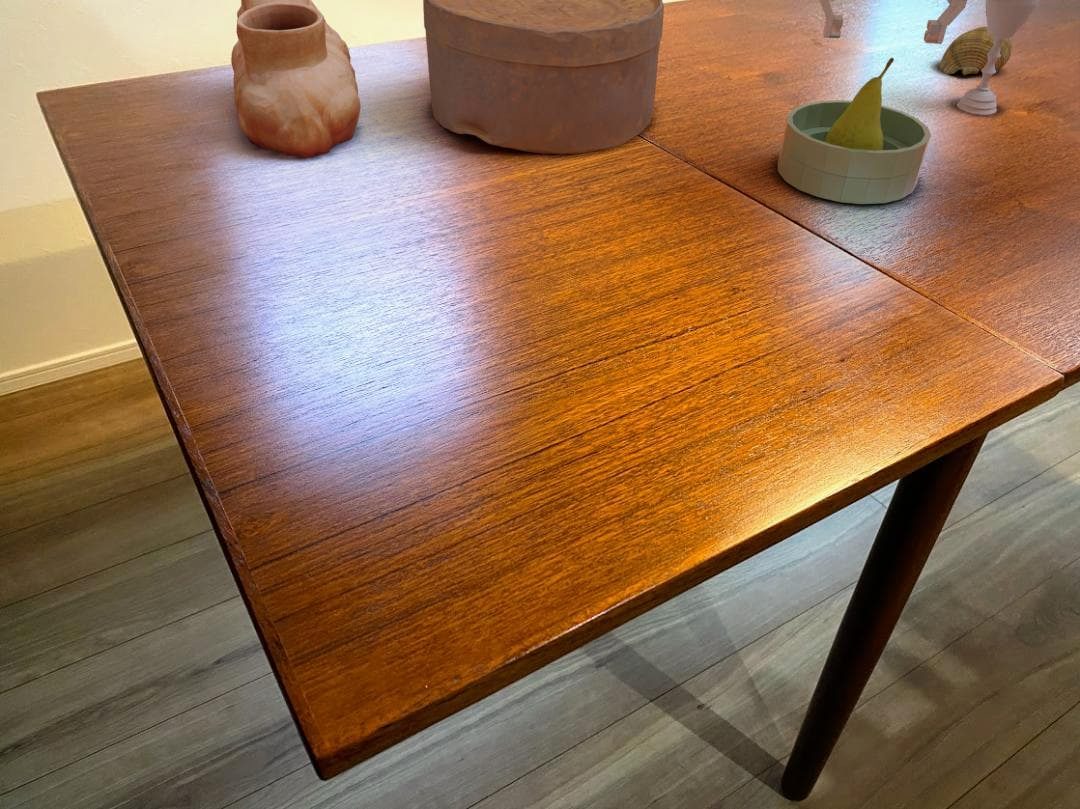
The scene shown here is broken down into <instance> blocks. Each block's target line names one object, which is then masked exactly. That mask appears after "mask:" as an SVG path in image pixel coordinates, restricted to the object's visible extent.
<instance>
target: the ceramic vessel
mask: <svg viewBox="0 0 1080 809" xmlns="http://www.w3.org/2000/svg"><path fill="white" fill-rule="evenodd" d="M236 17H237V20H236V36H237V42H236V43H235V44H234V45H233V48H232V51H231V56H230V57H231V58H230V63H231V67H232V70H233V91H234V96H233V97H234V98H233V99H234V103H235V106H236V109H237V112H238V120H237V121H238V125H239V127H240V129H241V130H242V132H243V134H244V135H245V137H246V138H247V139H248V141H249V142H250V143H251V145H253V146H254V147H257V148H261V149H263V150H267V151H272V152H278V153H281V154H285V155H288V156H290V157H296V158H314V157H318V156H322V155H323V156H324V155H326V154H329V153H330V152H331V150H332V149H333V148H335V147H336V146H337V145H340V144H343V143H346V142H349V141H351V140H352V139H353V137H354V134H355V131H356V127H357V125H358V122H359V118H360V114H361V101H360V96H359V88H358V82H357V80H356V70H355V68H354V66H353V65H352V62H351V60H352V59H351V54H350V48H349V47H348V45H347V42H346V41H345V40H344V39H342V37H341V36H340V34H339V33H338V32H337V31H336V30H335V29H333V28H332V26H330V25H329V24H328V23H327V21H326V19H325V16H324V15H323V14H322V12H321V11H320V10H319V9H318V7H317V6H316V5H315V3H314V2H313V1H312V0H240V7H239V8H238V10H237V12H236Z"/></svg>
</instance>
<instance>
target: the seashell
mask: <svg viewBox="0 0 1080 809" xmlns="http://www.w3.org/2000/svg"><path fill="white" fill-rule="evenodd" d="M993 45H994V37H992V36H991V35H989V33H988V26H980V27H976V28H973V29H970V30H968V31H966V32H964V33H961V34H960V35H958V36H957V37H956V38H955V39H954V40H953V41H952V42H951V43H950V44H949V45H948V46H947V48H946V50H945V51H944V53H943V54H942V57H941V60H940V62H939V66H938V69H939V71H940V72H942V73H943V74H945V75H947V76H948V75H952V74H955V73H957V72H959V71H960V70H961V73H962V75H963V76H967V75H969V74H971V75H972V74H974V75H975V74H978V73H979V72H981V73H982V71H981V69H983V68H984V67H985V66H986V64H987V63H988V56H987V54H988V53H989V52H990V50H991V48H992V47H993ZM1012 48H1013V46H1012V41H1011V38H1007V39H1004V41H1003V43H1002V44H1001V48H1000V55H1001V57H999V58H998V59H997V61H996V63H995V70H996V72H998V71H1000V70H1001V69H1003V68H1004V67H1005V65H1006V64H1007V63H1008V61H1009V60H1010V59H1011V55H1012V50H1013V49H1012Z"/></svg>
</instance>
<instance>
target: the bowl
mask: <svg viewBox="0 0 1080 809" xmlns="http://www.w3.org/2000/svg"><path fill="white" fill-rule="evenodd" d="M852 101H853V100H846V99H835V100H832V99H831V100H818V101H811V102H807V103H806V102H805V103H803V104H801V105H798V106H796V107H794V108H792V109H791V111H789V112H788V114H786V117H785V118H786V119H785V124H784V128H783V134H782V139H781V145H780V149H779V154H778V160H777V173H778V174H779V175H780V177H781V178H782V179H783V181H784V182H786V183H787V184H789V185H790V186H792V187H794V188H795V189H797V190H798V191H800V192H804V193H806V194H809V195H811V196H814V197H817V198H819V199H820V198H821V199H825V200H829V201H834V202H838V203H845V204H846V203H847V204H856V205H872V204H873V205H874V204H875V205H876V204H888V203H891V202H895V201H901V200H903V199H904V198H906V197H907V196H909V195H911V194H913V192H914V190H915V188H916V186H917V183H918V180H919V177H920V174H921V170H922V167H923V163H924V160H925V157H926V154H927V151H928V148H929V144H930V140H931V137H932V134H931V131H930V129H929V127H928V125H926V124H925V123H924V122H922V121H921V120H920V119H919V118H917V117H915V116H913V115H911V114H909V113H907V112H904V111H902V110H899V109H896V108H893V107H889V106H886V105H882V104H881V113H880V125H881V130H882V134H883V149H882V150H879V151H873V150H861V149H851V148H846V147H841V146H836V145H831V144H828V143H826V142H825V140H826V136H827V134H828V132H829V130H830V129H831V127H832V126H833V124H834V123H835V122H836V121H837V120H838V119H839V118H840V117H841V116H842V114H843V113H844V112H845V111H846V109H847V108H848V106H849V105H850V103H851V102H852Z"/></svg>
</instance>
